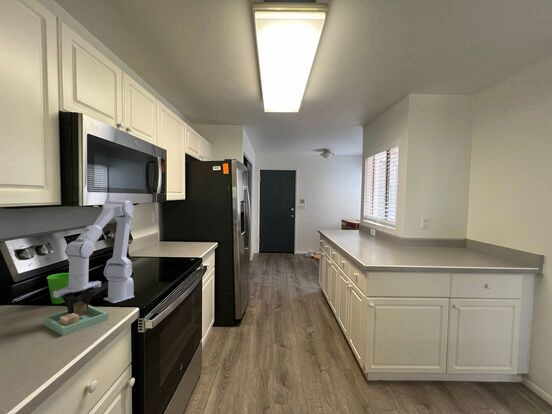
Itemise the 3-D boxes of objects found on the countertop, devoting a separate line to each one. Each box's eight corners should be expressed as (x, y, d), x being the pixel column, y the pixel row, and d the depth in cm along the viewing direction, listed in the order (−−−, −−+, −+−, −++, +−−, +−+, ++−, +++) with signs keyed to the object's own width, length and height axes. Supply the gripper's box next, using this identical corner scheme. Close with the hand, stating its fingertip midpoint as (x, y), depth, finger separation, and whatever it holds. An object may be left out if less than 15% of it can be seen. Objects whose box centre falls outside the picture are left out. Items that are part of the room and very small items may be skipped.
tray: (87, 312, 105) (87, 304, 104) (108, 321, 98) (108, 313, 98) (43, 326, 92) (43, 317, 92) (63, 337, 86) (63, 328, 85)
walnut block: (80, 312, 100) (81, 301, 100) (86, 314, 98) (86, 303, 98) (68, 315, 97) (68, 304, 97) (73, 318, 95) (74, 307, 95)
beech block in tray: (73, 324, 93) (73, 313, 93) (79, 327, 91) (79, 315, 91) (59, 328, 90) (59, 317, 90) (65, 332, 88) (65, 320, 88)
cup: (41, 302, 111) (42, 276, 111) (66, 296, 119) (67, 271, 119) (52, 307, 107) (52, 280, 107) (77, 300, 115) (78, 275, 115)
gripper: (94, 268, 105) (93, 302, 106) (49, 276, 93) (48, 315, 93) (104, 271, 102) (103, 306, 102) (59, 280, 89) (58, 320, 90)
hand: (77, 311), depth 97 cm, fingers closed on walnut block, 4 cm apart
